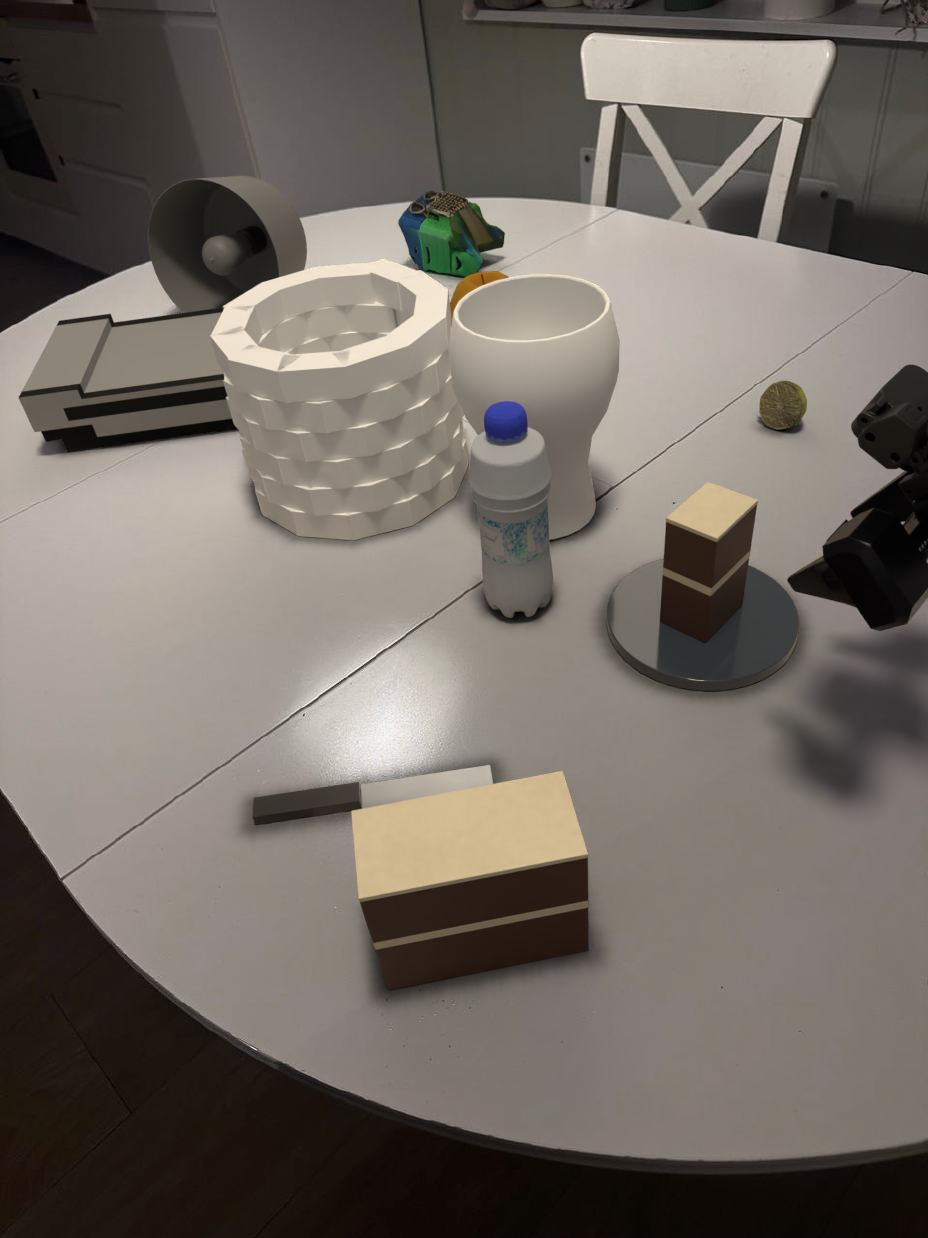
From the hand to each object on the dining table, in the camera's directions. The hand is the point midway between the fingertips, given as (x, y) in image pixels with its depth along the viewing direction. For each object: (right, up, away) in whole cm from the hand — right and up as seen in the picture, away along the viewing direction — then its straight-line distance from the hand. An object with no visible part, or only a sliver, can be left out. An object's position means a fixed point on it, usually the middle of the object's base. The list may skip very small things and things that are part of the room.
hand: (823, 549), depth 65 cm
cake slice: (-5, -4, +14) cm, 16 cm away
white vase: (-17, +6, +30) cm, 35 cm away
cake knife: (-32, -18, +5) cm, 37 cm away
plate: (-5, -5, +15) cm, 17 cm away
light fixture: (-58, +46, +78) cm, 107 cm away
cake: (-24, -25, -4) cm, 35 cm away
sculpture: (-26, +50, +78) cm, 96 cm away
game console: (-61, +24, +55) cm, 85 cm away
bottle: (-20, -3, +20) cm, 28 cm away
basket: (-36, +11, +38) cm, 54 cm away
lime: (+10, +17, +37) cm, 42 cm away
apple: (-22, +28, +54) cm, 65 cm away
